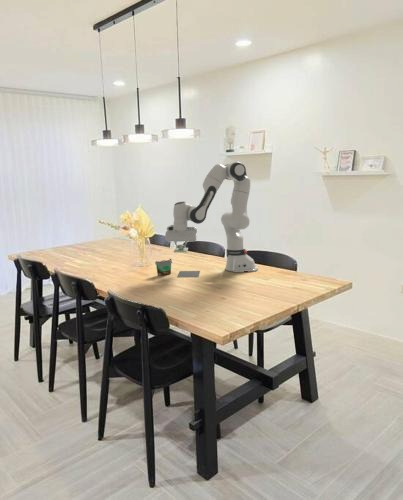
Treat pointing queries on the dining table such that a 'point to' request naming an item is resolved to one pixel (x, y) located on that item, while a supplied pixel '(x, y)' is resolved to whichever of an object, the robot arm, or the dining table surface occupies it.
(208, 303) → the dining table surface
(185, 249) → the lid
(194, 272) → the mat
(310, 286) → the dining table surface
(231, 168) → the robot arm
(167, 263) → the food container
